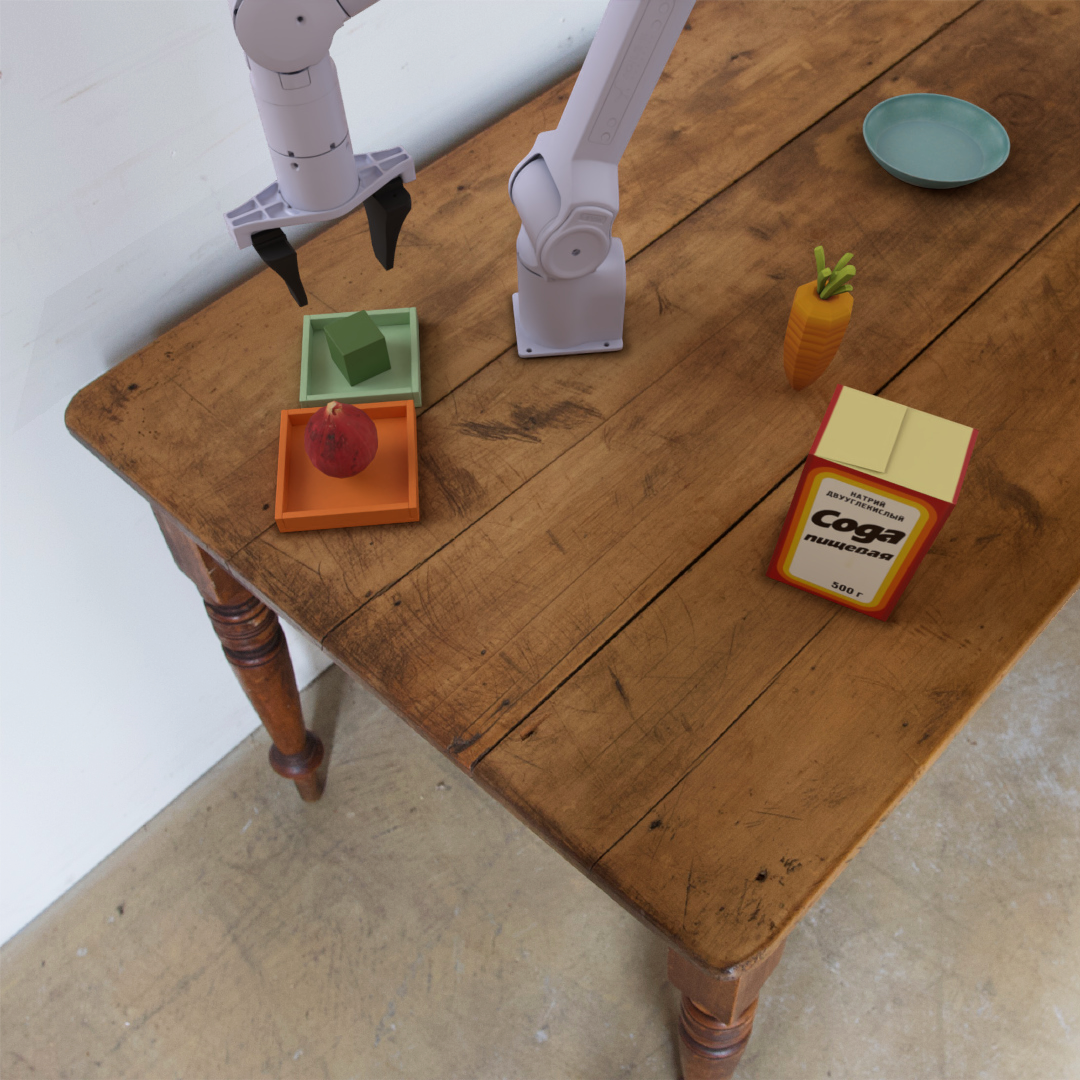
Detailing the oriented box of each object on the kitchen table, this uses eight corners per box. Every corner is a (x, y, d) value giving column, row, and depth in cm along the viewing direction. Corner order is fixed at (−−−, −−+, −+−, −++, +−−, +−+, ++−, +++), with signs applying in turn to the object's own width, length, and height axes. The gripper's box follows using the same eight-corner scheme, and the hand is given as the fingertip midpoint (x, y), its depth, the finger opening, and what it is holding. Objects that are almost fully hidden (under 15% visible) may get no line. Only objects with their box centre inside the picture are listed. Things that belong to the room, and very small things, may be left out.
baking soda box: (907, 555, 78) (981, 426, 65) (885, 622, 75) (958, 501, 61) (791, 512, 80) (839, 379, 67) (765, 575, 77) (809, 449, 64)
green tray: (418, 322, 92) (416, 306, 91) (421, 406, 87) (418, 391, 85) (308, 330, 92) (303, 315, 90) (304, 416, 86) (299, 401, 85)
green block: (371, 341, 90) (364, 308, 87) (391, 368, 89) (385, 337, 85) (331, 358, 89) (322, 326, 86) (351, 387, 87) (343, 355, 84)
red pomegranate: (372, 502, 81) (356, 441, 74) (305, 491, 81) (282, 429, 75) (392, 446, 84) (378, 383, 77) (327, 436, 84) (307, 372, 78)
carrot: (762, 370, 89) (797, 237, 76) (817, 366, 89) (861, 232, 76) (774, 413, 86) (812, 282, 73) (831, 409, 86) (879, 278, 73)
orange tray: (416, 414, 86) (413, 399, 85) (419, 521, 80) (416, 507, 79) (286, 424, 86) (281, 409, 84) (280, 533, 80) (274, 519, 78)
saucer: (1019, 142, 105) (1029, 120, 103) (972, 222, 99) (981, 200, 96) (888, 98, 110) (895, 76, 107) (834, 171, 103) (840, 149, 101)
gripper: (374, 70, 73) (398, 219, 84) (187, 137, 69) (239, 285, 80) (420, 119, 70) (438, 268, 81) (226, 193, 66) (275, 339, 77)
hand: (342, 280), depth 81 cm, fingers open, 7 cm apart
